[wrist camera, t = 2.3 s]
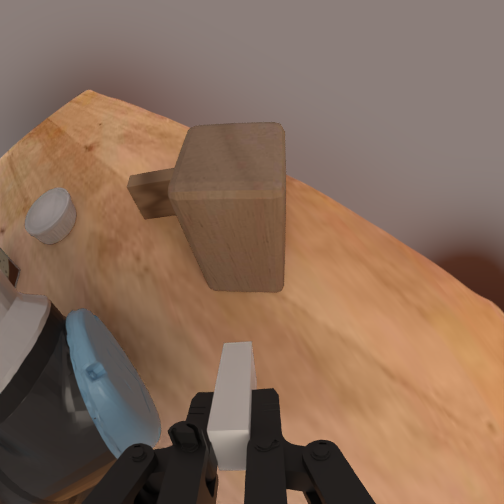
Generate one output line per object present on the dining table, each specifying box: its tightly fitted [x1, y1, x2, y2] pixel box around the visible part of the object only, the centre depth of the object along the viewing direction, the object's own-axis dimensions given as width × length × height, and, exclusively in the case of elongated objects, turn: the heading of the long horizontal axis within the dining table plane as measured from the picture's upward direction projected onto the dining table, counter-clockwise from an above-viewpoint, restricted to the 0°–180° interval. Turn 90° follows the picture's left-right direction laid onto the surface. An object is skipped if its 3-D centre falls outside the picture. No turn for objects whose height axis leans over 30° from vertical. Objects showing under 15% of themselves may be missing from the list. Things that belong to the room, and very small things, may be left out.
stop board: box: [127, 168, 176, 219], centre depth 45 cm, size 22×2×8 cm, turn 94°
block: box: [168, 122, 286, 292], centre depth 34 cm, size 10×10×20 cm
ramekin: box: [25, 188, 76, 244], centre depth 48 cm, size 11×11×5 cm
